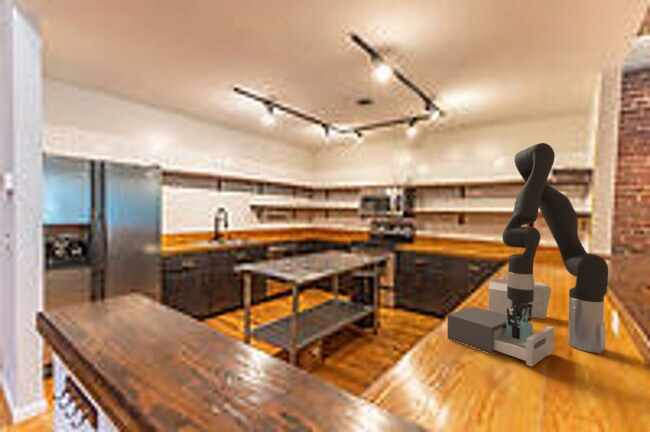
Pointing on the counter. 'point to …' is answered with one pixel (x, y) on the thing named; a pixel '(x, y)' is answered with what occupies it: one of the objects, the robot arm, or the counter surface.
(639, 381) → the counter surface
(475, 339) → the cabinet
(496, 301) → the milk carton
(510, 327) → the block
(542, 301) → the radio
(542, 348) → the drawer
